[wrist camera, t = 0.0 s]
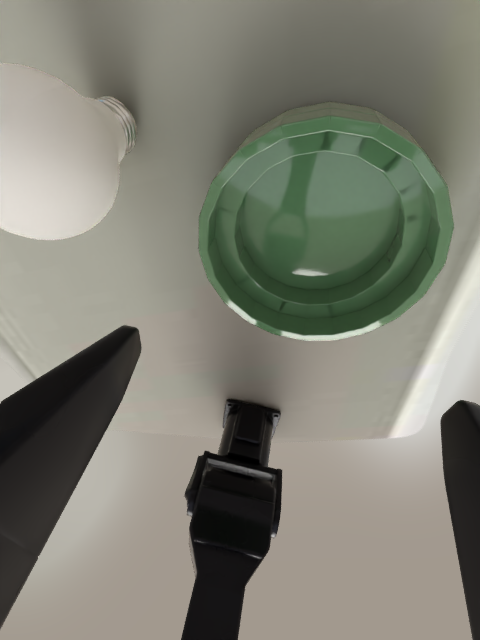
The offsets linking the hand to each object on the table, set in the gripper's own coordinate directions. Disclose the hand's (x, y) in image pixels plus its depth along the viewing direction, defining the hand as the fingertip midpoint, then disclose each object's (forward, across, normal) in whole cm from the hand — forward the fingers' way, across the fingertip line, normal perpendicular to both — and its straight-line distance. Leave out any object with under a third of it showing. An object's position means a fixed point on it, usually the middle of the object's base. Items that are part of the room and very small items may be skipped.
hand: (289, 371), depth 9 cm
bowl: (+15, -1, +2) cm, 15 cm away
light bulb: (+15, +12, -2) cm, 19 cm away
